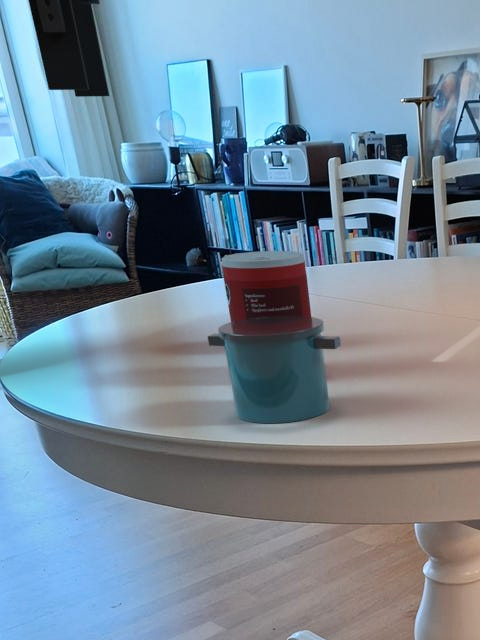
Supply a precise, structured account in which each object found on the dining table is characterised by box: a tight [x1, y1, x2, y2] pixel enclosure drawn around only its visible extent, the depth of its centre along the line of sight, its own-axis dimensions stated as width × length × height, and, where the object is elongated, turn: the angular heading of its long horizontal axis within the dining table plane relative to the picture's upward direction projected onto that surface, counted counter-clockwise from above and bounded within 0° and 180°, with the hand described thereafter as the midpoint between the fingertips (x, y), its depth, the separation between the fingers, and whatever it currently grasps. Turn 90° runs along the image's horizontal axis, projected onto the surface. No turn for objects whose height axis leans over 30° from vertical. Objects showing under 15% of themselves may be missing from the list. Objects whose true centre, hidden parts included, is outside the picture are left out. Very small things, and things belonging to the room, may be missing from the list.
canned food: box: [221, 250, 312, 322], centre depth 85 cm, size 8×8×11 cm
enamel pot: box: [207, 316, 342, 424], centre depth 74 cm, size 9×12×7 cm
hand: (82, 94), depth 70 cm, fingers open, 13 cm apart
